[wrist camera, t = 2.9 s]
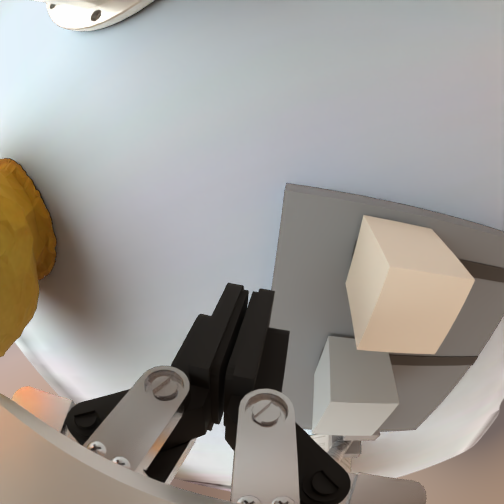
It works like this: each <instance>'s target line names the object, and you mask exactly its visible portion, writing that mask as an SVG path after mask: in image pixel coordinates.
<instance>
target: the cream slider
mask: <svg viewBox="0 0 504 504" xmlns="http://www.w3.org/2000/svg"><path fill="white" fill-rule="evenodd" d="M474 281H475V279H474V278H473V277H472V275H471V274H470V273H469V272H468V270H467V269H466V268H465V267H464V265H463V264H462V263H461V262H460V261H459V259H458V258H457V257H456V256H455V255H454V253H453V252H452V251H451V250H450V249H449V248H448V247H447V245H446V244H445V243H444V242H443V241H442V240H441V239H440V238H439V236H438V235H437V234H436V233H435V232H434V231H433V230H432V229H430V228H425V227H421V226H416V225H411V224H407V223H402V222H397V221H392V220H387V219H382V218H377V217H372V216H366V215H363V219H362V223H361V227H360V232H359V236H358V240H357V243H356V247H355V251H354V255H353V259H352V262H351V266H350V269H349V273H348V276H347V280H346V283H345V284H346V289H347V294H348V300H349V305H350V311H351V317H352V323H353V329H354V335H355V342H356V349H357V350H365V351H378V352H393V353H412V354H435V353H436V352H437V350H438V348H439V347H440V345H441V344H442V342H443V340H444V339H445V337H446V335H447V334H448V332H449V330H450V328H451V327H452V325H453V323H454V321H455V319H456V318H457V316H458V314H459V312H460V310H461V308H462V306H463V304H464V302H465V300H466V298H467V296H468V294H469V292H470V290H471V288H472V286H473V284H474Z"/></svg>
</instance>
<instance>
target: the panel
mask: <svg viewBox="0 0 504 504" xmlns="http://www.w3.org/2000/svg"><path fill="white" fill-rule="evenodd" d="M363 215H366V216H372V217H377V218H382V219H387V220H392V221H397V222H402V223H407V224H411V225H416V226H421V227H425V228H430V229H432V230H433V231H434V232H435V233H436V234H437V235H438V236H439V238H440V239H441V240H442V241H443V242H444V243H445V244H446V245H447V247H448V248H449V249H450V250H451V251H452V252H453V253H454V255H455V256H456V257H457V258H458V259H459V261H460V262H461V263H462V264H463V265H464V267H465V268H466V269H467V270H468V272H469V273H470V274H471V275H472V277H473V278H474V279H475V281H474V284H473V286H472V288H471V290H470V292H469V294H468V296H467V298H466V300H465V302H464V304H463V306H462V308H461V310H460V312H459V314H458V316H457V318H456V319H455V321H454V323H453V325H452V327H451V328H450V330H449V332H448V334H447V335H446V337H445V339H444V340H443V342H442V344H441V345H440V347H439V348H438V350H437V352H436V353H435V354H412V353H393V352H389V357H390V361H391V365H392V370H393V374H394V379H395V384H396V389H397V394H398V399H399V405H398V406H397V407H396V408H395V409H394V411H393V412H392V413H391V414H390V415H389V417H388V418H387V419H386V420H385V421H384V422H383V424H382V425H381V426H380V427H379V428H378V429H377V430H376V431H375V432H374V434H373V435H372V436H343V440H347V441H353V442H352V444H351V445H350V447H349V448H348V450H347V451H346V453H345V454H344V456H343V457H342V458H357V457H358V456H359V455H360V454H361V441H370V440H376V439H377V438H378V437H379V436H380V432H385V431H405V430H416V429H417V428H418V427H419V426H420V425H421V424H422V423H423V422H424V421H425V420H426V419H427V417H428V416H429V415H430V414H431V413H432V412H433V411H434V410H435V409H436V408H437V407H438V406H439V405H440V403H441V402H442V401H443V400H444V399H445V398H446V397H447V395H448V394H449V393H450V392H451V391H452V389H453V388H454V387H455V386H456V385H457V383H458V382H459V381H460V380H461V378H462V377H463V376H464V374H465V373H466V372H467V370H468V369H469V368H470V366H471V365H473V364H474V362H475V361H476V359H477V358H478V355H479V354H480V352H481V351H482V349H483V348H484V346H485V345H486V343H487V342H488V340H489V339H490V337H491V336H492V334H493V332H494V331H495V329H496V327H497V326H498V324H499V322H500V321H501V319H502V317H503V315H504V231H500V230H497V229H494V228H491V227H488V226H484V225H481V224H478V223H474V222H471V221H467V220H464V219H460V218H456V217H453V216H449V215H445V214H441V213H437V212H433V211H429V210H425V209H421V208H417V207H413V206H408V205H404V204H399V203H395V202H390V201H386V200H381V199H376V198H371V197H366V196H361V195H355V194H350V193H345V192H339V191H333V190H327V189H321V188H315V187H309V186H302V185H296V184H289V183H286V187H285V192H284V200H283V208H282V216H281V224H280V231H279V239H278V246H277V253H276V260H275V268H274V275H273V282H272V288H271V290H272V291H275V294H274V301H273V307H272V313H271V319H270V325H269V327H270V328H276V329H282V330H288V331H290V335H289V343H288V351H287V358H286V366H285V373H284V380H283V387H282V393H283V394H284V395H285V396H287V397H288V398H289V399H290V401H291V402H292V404H293V407H294V412H295V422H296V423H297V424H298V425H299V426H300V427H301V428H302V429H310V430H312V420H313V398H314V374H315V371H316V368H317V366H318V363H319V361H320V358H321V355H322V352H323V350H324V347H325V344H326V341H327V339H328V336H335V337H344V338H353V339H355V335H354V329H353V323H352V317H351V311H350V305H349V300H348V294H347V289H346V284H345V283H346V280H347V276H348V273H349V269H350V266H351V262H352V259H353V255H354V251H355V247H356V243H357V240H358V236H359V232H360V227H361V223H362V219H363ZM338 436H339V435H329V449H330V447H331V446H332V445H333V443H334V442H335V440H336V439H337V437H338Z"/></svg>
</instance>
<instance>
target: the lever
mask: <svg viewBox="0 0 504 504" xmlns="http://www.w3.org/2000/svg"><path fill="white" fill-rule="evenodd" d="M352 442H353V441H347V440H343V435H339V436H338V437H337V439H336V440H335V442H334V443H333V445H332V446H331V447H330V449H329V450H328V452H327V453H328V454H329V455H330V456H331V457H332V458H333V459H334V460H335V461H336V462H337V463H339V462H340V460H341V459H342V457H343V456H344V454H345V453H346V451H347V450H348V448H349V447H350V445H351V444H352Z"/></svg>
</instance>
